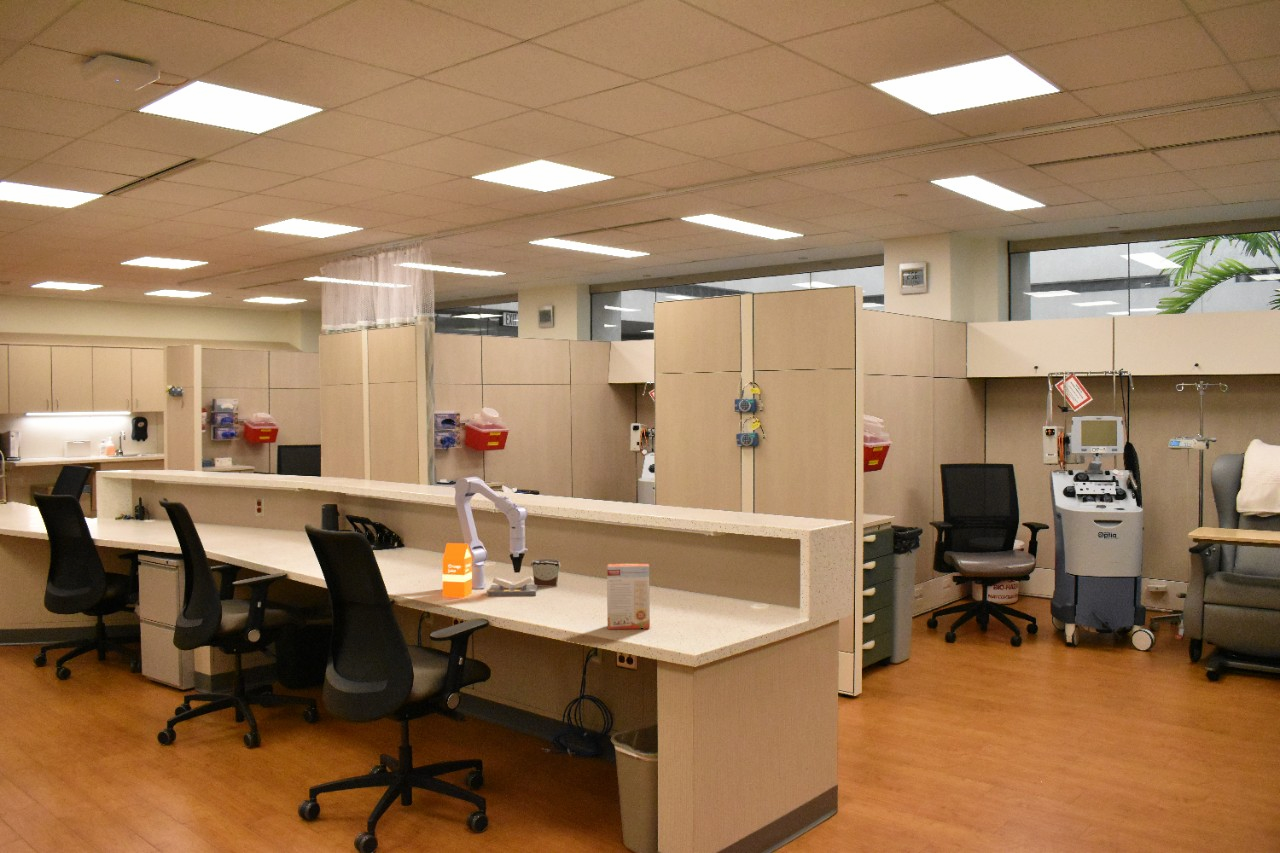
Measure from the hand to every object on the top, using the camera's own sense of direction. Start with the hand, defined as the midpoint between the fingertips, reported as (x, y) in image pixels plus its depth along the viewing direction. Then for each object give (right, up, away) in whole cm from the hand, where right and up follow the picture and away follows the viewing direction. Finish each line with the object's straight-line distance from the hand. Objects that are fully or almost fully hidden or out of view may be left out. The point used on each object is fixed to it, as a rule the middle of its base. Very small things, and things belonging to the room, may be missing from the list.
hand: (517, 572), depth 374 cm
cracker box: (+44, -10, -57) cm, 73 cm away
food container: (+11, -7, +15) cm, 20 cm away
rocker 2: (+3, -4, -1) cm, 5 cm away
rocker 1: (-6, -4, -1) cm, 8 cm away
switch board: (-1, -8, -1) cm, 8 cm away
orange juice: (-22, -8, -6) cm, 24 cm away
